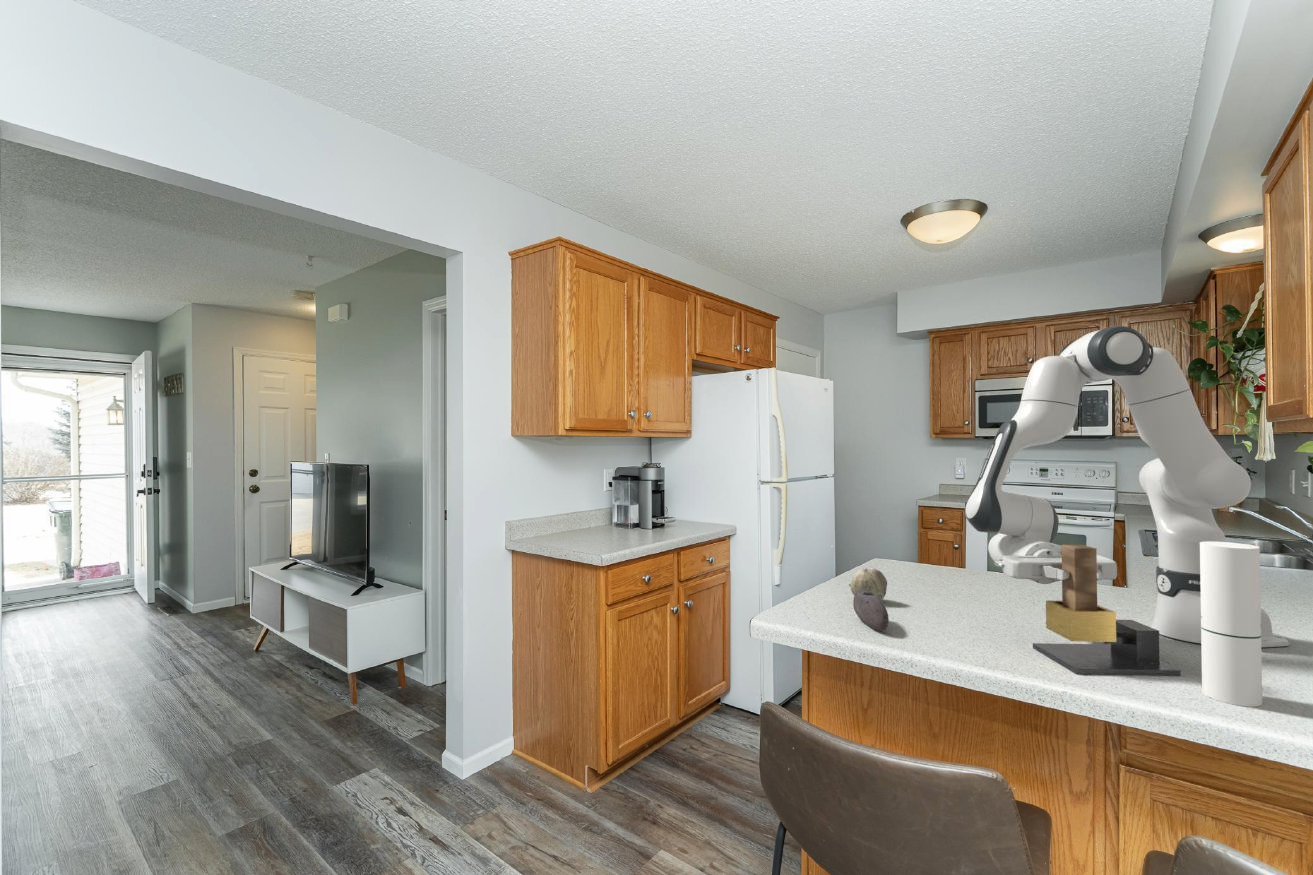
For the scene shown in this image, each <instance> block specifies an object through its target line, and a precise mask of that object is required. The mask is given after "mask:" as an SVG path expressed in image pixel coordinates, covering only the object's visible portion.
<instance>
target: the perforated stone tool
mask: <svg viewBox="0 0 1313 875" xmlns="http://www.w3.org/2000/svg"><path fill="white" fill-rule="evenodd" d="M852 603H853V610H854V612H855V615H857V617H858V619H859V620H860V621H862V623H864V625H867V626H868V627H870V628H871V629H872V630H874V631H877V632H885V631H887V628H888V626H889V614H888V610H887V608H886V606H885V604H884V603H883V600H880V599H879V598H878V596H876V595H875V594H873V593H872V592H870V591H869V590H858V591H857V592H856V593H855V595H853V602H852Z"/></svg>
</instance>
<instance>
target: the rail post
mask: <svg viewBox="0 0 1313 875" xmlns="http://www.w3.org/2000/svg"><path fill="white" fill-rule="evenodd" d="M1061 545H1062V569H1065V570H1067V571H1069V572H1070V580H1062V581H1061V593H1062V594H1061V595H1062V596H1061V601H1062V606H1064V607H1066V608H1068V609H1070V610H1073V611H1097V605H1098V580H1097V555H1098V553H1097V548H1096V547H1092V546H1089V545H1085V544H1061Z"/></svg>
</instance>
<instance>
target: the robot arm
mask: <svg viewBox="0 0 1313 875" xmlns="http://www.w3.org/2000/svg"><path fill="white" fill-rule="evenodd" d="M1108 380H1113V381H1114V382H1116V384H1117V385H1118V386H1119V387H1120V388H1121V390H1122V391H1123V394H1124V397H1125V401H1126V403H1127V406H1128V410H1129V412H1130V414H1131V416H1132V420H1133V422H1134V424H1135V427H1136V430H1137V433H1138V436H1139V438H1140V439H1141V440H1142V441H1143V442H1144V443H1145V444H1147V445H1148V446H1149V448H1151V449H1152V451H1153V452H1154V454H1155V455H1156V457H1157V458H1153V459H1152V460H1149V461H1148V462H1146V463H1145V464H1144V466H1142V468H1141V469H1140V471H1139V473H1138V474H1139V475H1138V482H1139V484H1140V487H1141V489H1142V490H1143V491H1144V492H1145V494H1146V495H1147V498H1148V501H1149V505H1150V508H1151V511H1152V514H1153V519H1154V521H1155V522H1154V523H1155V526H1156V532H1157V547H1158V548H1157V549H1158V565H1156V567H1155V568H1156V569H1155V579H1156V580H1155V583H1156V588H1157V597H1156V598H1157V599H1156V606H1155V609H1154V614H1153V618H1152V621H1151V624H1150V626H1149V627H1151V628H1153V629H1156V630H1158V631H1159V635H1161V636H1165V637H1168V638H1171V639H1175V640H1178V641H1179V640H1180V641H1185V642H1190V643H1195V644H1201V588H1200V542H1227V539H1226V535H1225V534H1224V532H1223V531H1222V529H1221V528H1220V527H1219V525H1218V523H1217V522H1216V520H1215V517H1214V514H1213V510H1215V509H1223V508H1229V507H1233V506H1235V505H1238V504H1240V503H1242V502H1243V501H1244V500H1245V499H1246V498H1247V497H1248V496H1249V494H1250V492H1251V487H1252V481H1251V476H1250V475H1249V473H1248V472H1247V470H1246V469H1245V468H1244V467H1243V466H1241V465H1240V464H1238V463H1237V462H1236V461H1234V460H1233V459H1232V458H1231V457H1230V456H1229V455H1228V453H1226V452H1225V450H1224V449H1223V448H1222V445H1220V443H1219V442H1218V441H1217V439H1216V438H1215V436H1213V434H1212V433H1211V431H1210V430H1209V428H1208V427H1207V425H1206V423H1205V421H1204V419H1203V416H1202V415H1201V412H1200V410H1199V408H1198V405H1197V403H1196V401H1195V400H1196V399H1195V397H1194V395H1193V392H1192V389H1191V387H1190V384H1189V382H1188V380H1187V378H1186V375H1185V374H1184V372H1183V370H1182V369H1181V367H1180V365H1179V364H1178V362H1177V360H1176V359H1175V357H1174V356H1173V354H1172V353H1171V352H1170V351H1169V350H1168V349H1165V348H1162V347H1158V346H1157V347H1155V346H1154V347H1153V346H1152V344H1150V343H1149V342H1148V340H1147V339H1146V338H1145V337H1144V336H1143V334H1141V333H1140V332H1139V331H1137V330H1136V329H1135V328H1132V327H1129V326H1125V325H1115V326H1107V327H1105V328H1102V329H1099V330H1098V329H1097V330H1094V331H1092V332H1088V333H1087V334H1084V335H1083V336H1081V337H1080V338H1078V339H1075V340H1072V341H1071V342H1069V343H1068V344H1067V345H1065V346H1064V347H1063V348H1062V350H1060V352H1059V353H1058V354H1057V355H1049V356H1048V355H1047V356H1045V357H1041V358H1039V359H1038V360H1036V361H1035V362H1034V363H1033V365H1032V366H1031V368H1030V371H1029V373H1028V376H1027V378H1026V380H1025V384H1024V386H1023V390H1022V393H1021V398H1020V403H1019V406H1018V409H1017V411H1016V412H1015V414H1014V416H1013V417H1012V418H1011V419H1010V420H1007V421H1005V422H1003V423H1002V424H1001V425H1000V427H999V428H998V430H997V432H996V434H995V436H994V438H993V440H992V443H991V446H990V448H989V451H988V453H987V456H986V458H985V460H984V463H983V466H982V469H981V470H980V473H979V476H978V479H977V480H976V483H975V486H974V488H972V491H971V493H970V494H969V497H968V499H967V500H966V503H965V506H964V507H965V509H964V515H965V518H966V519H967V520H966V521H968V523H969V524H970V525H971V526H972V528H973V529H974V530H976V531H977V532H979V533H989V534H995V535H994V536H992V537H991V539H990V540H989V542H988V545H987V548H988V553H989V556H990V558H991V559H992V560H993V563H994V565H995V566H996V567H999V568H1002V572H1003V573H1004V575H1007V576H1009V577H1010V578H1012V579H1017V580H1029V581H1032V582H1034V583H1038V584H1039V585H1040V584H1041V585H1051V584H1052V583H1056V582H1062V580H1070V572H1069V571H1067V570H1065V569H1062V545H1063V544H1056V543H1053V542H1054V541H1055V539H1056V537H1057V535H1058V532H1059V524H1060V521H1059V516H1058V513H1057V511H1056V509H1055V507H1054V506H1053V504H1052V503H1051V502H1050V501H1049V500H1048V499H1046V498H1041V497H1037V496H1036V497H1035V496H1030V495H1025V494H1018V493H1014V492H1007V491H1004V490H1002V487H1003V484H1004V481H1005V479H1006V477H1007V474H1008V471H1009V468H1010V466H1011V464H1012V461H1013V458H1014V457H1015V456H1016V454H1017V453H1019V452H1021V450H1024V449H1027V448H1030V447H1033V446H1034V447H1035V446H1040V445H1041V446H1042V445H1047V444H1050V443H1053V442H1057V441H1059V440H1061V439H1063V438H1064V437H1066V436H1067V435H1068V434H1069V433H1070V432H1071V431H1072V429H1073V427H1074V425H1075V422H1076V419H1077V414H1078V408H1079V402H1080V394H1081V392H1082V390H1083V388H1084V387H1085V385H1086V384H1087V385H1088V384H1092V383H1097V382H1104V381H1108ZM1117 572H1118V566H1117V562H1116V561H1115V560H1113V559H1112V558H1109V557H1106V556H1103V555H1100V554H1097V581H1102V580H1107V581H1108V580H1115V579H1117V577H1118V576H1117V575H1118V573H1117ZM1260 625H1261V648H1274V647H1275V648H1277V647H1288V646H1290V643H1289V640H1288V639H1286V638H1285V637H1283V636H1282V635H1281V636H1280V635H1278V634H1276V633H1274V632H1273V627H1272V622H1271V617H1270V616H1269V614H1268V613H1267V612H1266V611H1265V610H1264V609H1262V608H1261V624H1260Z"/></svg>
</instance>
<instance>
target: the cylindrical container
mask: <svg viewBox="0 0 1313 875" xmlns="http://www.w3.org/2000/svg"><path fill="white" fill-rule="evenodd" d="M1260 550H1261V549H1260V546H1257V545H1252V544H1248V543H1238V542H1231V541H1230V542H1228V541H1226V542H1200V588H1201V643H1200V644H1201V645H1200V646H1201V692H1202V694H1203V693H1204V694H1203V695H1204V696H1206V697H1208V698H1210V697H1211V698H1210V699H1213V700H1216V701H1219V702H1222V703H1226V704H1229V705H1235V706H1241V707H1251V708H1252V707H1253V708H1254V707H1255V708H1257V707H1262V706H1263V676H1262V674H1263V671H1262V670H1263V668H1262V666H1263V665H1262V664H1263V663H1262V647H1261V625H1260V624H1261V609H1262V608H1261V560H1260V558H1261V557H1260V555H1261V554H1260V553H1261V551H1260Z"/></svg>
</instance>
